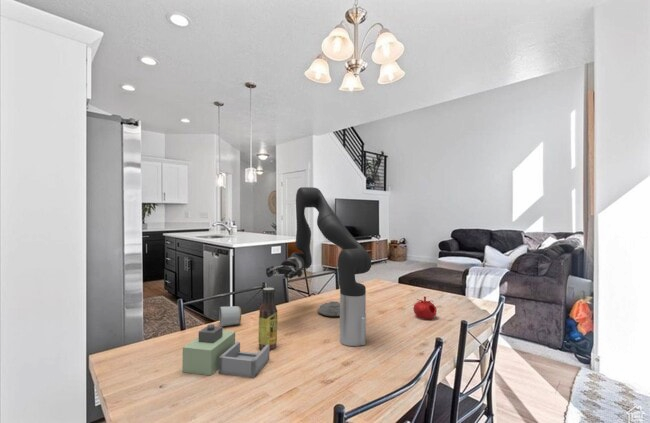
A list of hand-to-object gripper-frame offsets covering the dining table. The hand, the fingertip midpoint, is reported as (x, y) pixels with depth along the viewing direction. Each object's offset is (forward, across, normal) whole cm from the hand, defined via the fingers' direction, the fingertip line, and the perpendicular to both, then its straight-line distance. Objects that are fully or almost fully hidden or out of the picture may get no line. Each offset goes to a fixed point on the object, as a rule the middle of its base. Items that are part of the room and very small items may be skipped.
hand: (279, 275), depth 115 cm
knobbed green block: (+25, -7, +22) cm, 34 cm away
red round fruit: (-31, +58, +23) cm, 70 cm away
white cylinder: (-7, -24, +24) cm, 34 cm away
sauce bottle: (+11, 0, +22) cm, 25 cm away
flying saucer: (-29, +17, +24) cm, 41 cm away
